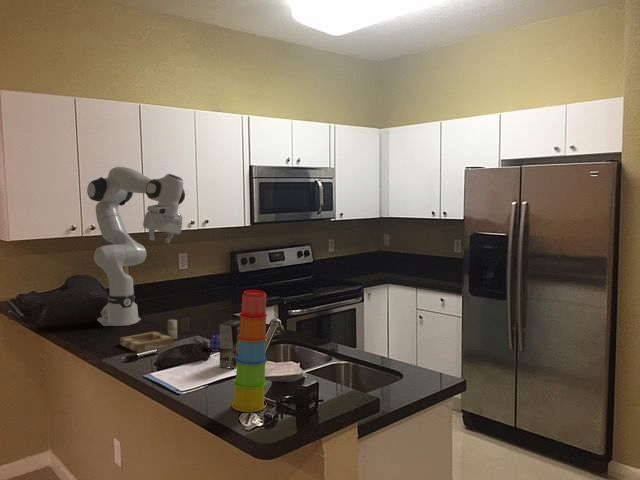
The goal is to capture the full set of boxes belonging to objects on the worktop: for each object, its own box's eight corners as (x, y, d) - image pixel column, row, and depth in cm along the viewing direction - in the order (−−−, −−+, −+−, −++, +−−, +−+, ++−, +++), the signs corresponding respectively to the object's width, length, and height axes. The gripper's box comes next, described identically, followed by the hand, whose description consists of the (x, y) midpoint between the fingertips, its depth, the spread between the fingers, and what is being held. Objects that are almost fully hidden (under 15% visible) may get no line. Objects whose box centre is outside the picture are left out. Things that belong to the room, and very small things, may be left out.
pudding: (237, 346, 225) (237, 333, 225) (225, 353, 214) (225, 341, 214) (212, 343, 229) (212, 331, 228) (198, 351, 217) (198, 338, 217)
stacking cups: (250, 397, 166) (250, 287, 164) (273, 405, 160) (273, 291, 157) (224, 406, 159) (224, 291, 156) (247, 416, 152) (247, 295, 149)
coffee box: (234, 369, 193) (234, 325, 192) (219, 367, 195) (218, 324, 194) (246, 362, 202) (246, 320, 201) (231, 360, 204) (230, 318, 203)
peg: (166, 338, 235) (165, 320, 235) (174, 336, 238) (174, 319, 238) (170, 340, 233) (170, 322, 232) (179, 338, 235) (178, 320, 235)
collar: (120, 344, 225) (120, 337, 225) (155, 337, 236) (155, 331, 236) (138, 352, 213) (137, 345, 213) (174, 345, 225) (173, 338, 225)
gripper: (177, 213, 246) (170, 242, 246) (144, 205, 228) (137, 237, 228) (188, 216, 243) (180, 245, 243) (155, 208, 225) (147, 240, 225)
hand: (159, 241), depth 236 cm, fingers open, 8 cm apart
